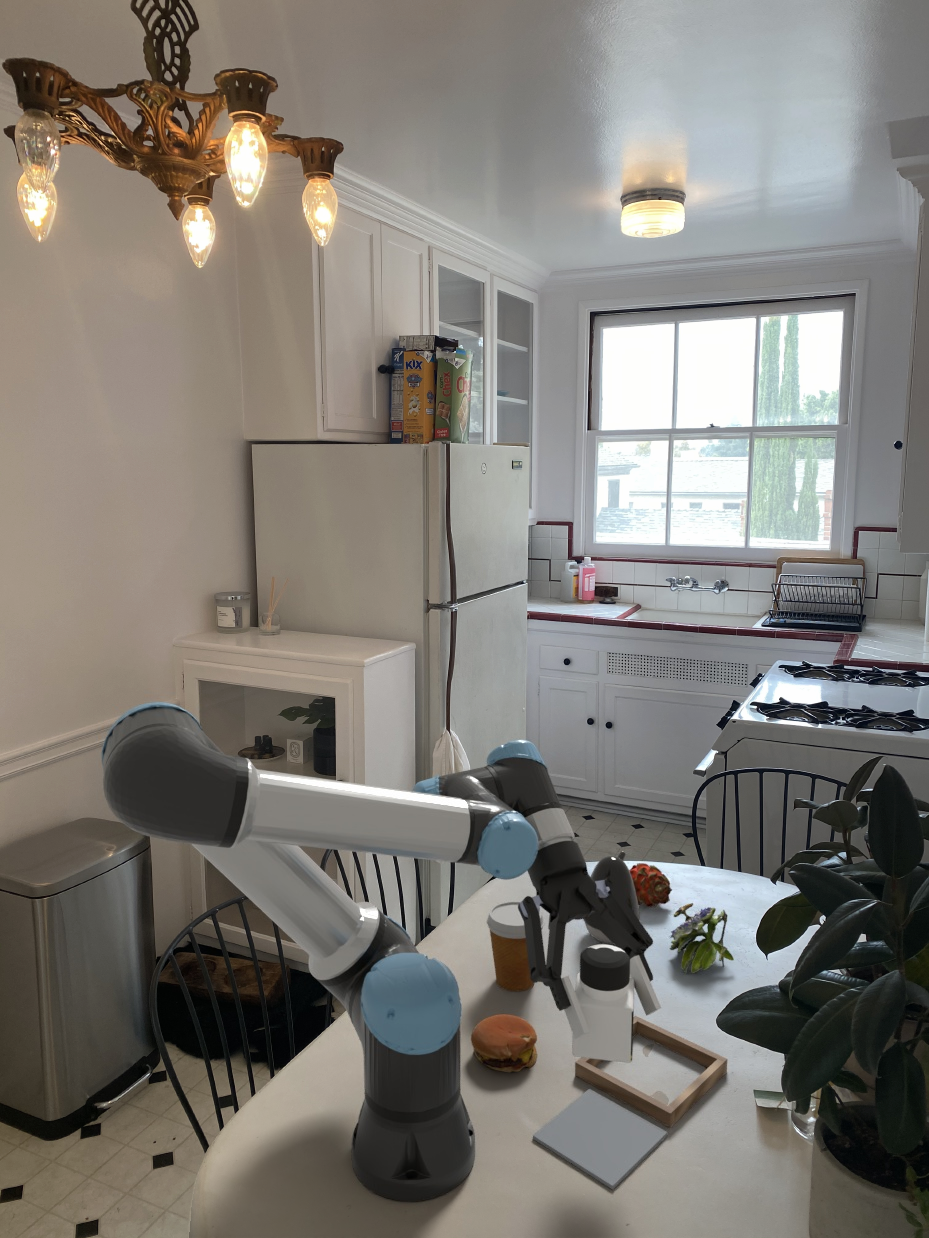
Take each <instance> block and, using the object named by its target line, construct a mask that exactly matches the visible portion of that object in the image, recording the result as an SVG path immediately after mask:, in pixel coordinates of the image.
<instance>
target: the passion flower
mask: <svg viewBox="0 0 929 1238" xmlns="http://www.w3.org/2000/svg"><path fill="white" fill-rule="evenodd" d="M693 906H694V903H693V902H691V903H688V904H685V905H683V906H680V907H679V908H678V909H677V910H676V911H675V912H674V913H673V918H677V917H679V916H680V915H683V916H685V919H684V920H685V921H684V922H683V923H681V924H679V926H677V927H676V928H675V929H673V930H672V931H670V932H671V935H669V936H668V938H669V939H671V938H672V939H673V940H671V941H670V943H671V945H670V947H669V950H670V951H674V950H677V952H678V953H680V952H681V951H684V952H683V954H682V958H681V959H682V960H681V963H680V964H681V969H682V970H683V972H684V973H686V974H687V973H688V968H689V966H690V965H691V966H690V967H691V968H690V972H691V973H692V974H694V973H697V972H698V971H700V970H703V971H705V970H708V969H709V968H711V966H713V964H714V963H715V961H716V959H717V954H719V958H718V961H719V962H722V963H721V964H722V967H724V966H725V965H724V964H725V963H724V962H725V960H724V959H726V960H729V961H734V956H733V954H732V953H731V952H730V951H729V950H728V947H727V946H724V936H725V930H726V925H727V922H728V914H727V913H726V911H725V909H723V910H722V911H721V912H720V913H719V914H717V915H716V914H715V912H716V910H717V909H716V908H715V907H709V906H708V907H704V909H703V908H701V909H700V911H699V912H696V913H695V914H694V916H690V915H688V914H687V910H689V909H690V908H692V907H693ZM714 914H715V915H714ZM722 921H723V927H722V932H721V936H720V939H719V940H718V942H715V941H714V935H715V932H716V930H717V928H716V927H717V925H718V924H719V923H721V922H722ZM706 925H707V931H705V929H704V927H705V926H706ZM698 937H703V938H702V939H701V940H696V939H697V938H698Z"/></svg>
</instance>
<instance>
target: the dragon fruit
mask: <svg viewBox="0 0 929 1238" xmlns="http://www.w3.org/2000/svg"><path fill="white" fill-rule="evenodd" d="M629 871H630V873H631V876H632V878H633V882H634V885H635V889H636V893H637V898H638V904H639V907H640V906H642V904H644V905H645V908H646V907H647V908H655V907H656V906H657V905H659V904H662V905H665V904H667V903H669V902H670V894H671V892H672V891H673V889H672V887H671V886H670V885H671V883H670V880H669V879H668V877H667V876H666V875H665V874H664V873H662V871H661V870H660V869H659V868H658V867H657V866H655V865H649V864H647V863H645V862H644V863H642V862H641V863H640V862H639V863H636V864H634V865H632V867H631V868H630V869H629Z"/></svg>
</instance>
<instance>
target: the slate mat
mask: <svg viewBox="0 0 929 1238" xmlns="http://www.w3.org/2000/svg"><path fill="white" fill-rule="evenodd" d="M667 1136H668V1131H666V1130H664V1129H662V1128H661V1127H659V1126H657V1125H656V1124H653V1123H652V1122H650V1121H648V1120H646V1119H645V1118H642V1117H641V1116H639V1115H637V1114H635V1113H634V1112H632V1111H630V1110H629V1109H627V1108H625V1107H623V1106H621V1105H619V1104H618V1103H616V1102H615V1101H612V1100H611V1099H609V1098H607V1097H605V1096H603V1095H601V1094H599V1093H598V1092H596V1091H594V1090H593V1089H591V1088H588V1089H587V1090H586V1091H585V1092H584V1093H582V1094H581V1095H580V1096H578V1097H577V1098H576V1099H575V1100H574V1101H573V1102H571V1103H570V1104H569V1105H568V1106H567V1107H565V1108H564V1109H563V1110H561V1111H560V1112H559V1113H558V1114H557V1115H556V1116H555V1117H553V1118H552V1119H550V1121H548V1122H547V1123H546V1124H544V1125H543V1126H542V1127H541V1128H540V1129H539V1130H537V1131H536V1132H535V1133H534V1134H532V1139H533V1140H534V1141H536V1143H539V1144H540V1145H542V1146H544V1147H545V1148H547V1149H548V1150H550V1151H551V1152H552V1153H555V1154H556V1155H557V1156H559V1157H561V1158H562V1159H564V1160H565V1161H567V1162H568V1163H570V1164H571V1163H572V1165H573V1166H574V1167H576V1168H577V1169H579V1170H581V1171H583V1172H584V1173H586V1174H587V1175H589V1176H590V1177H592V1178H593V1179H595V1180H597V1181H598V1182H600V1183H601V1184H603V1185H605V1186H606V1187H607V1188H609V1189H611V1190H614V1189H615V1188H616V1187H617V1186H619V1185H620V1183H621V1182H623V1180H624V1179H625V1178H626V1177H627V1176H628V1175H629V1174H630V1173H631V1172H633V1171H634V1170H635V1168H636V1167H637V1166H639V1165H640V1163H642V1161H644V1160H645V1158H646V1157H648V1155H650V1154H651V1153H652V1151H654V1150H655V1148H657V1147H658V1145H660V1143H662V1142H663V1141H664V1140H665V1139H666V1138H667Z"/></svg>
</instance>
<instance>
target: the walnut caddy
mask: <svg viewBox="0 0 929 1238" xmlns="http://www.w3.org/2000/svg"><path fill="white" fill-rule="evenodd" d="M636 1035H638V1036H641V1037H643V1038H645V1039H648V1040H650V1041H652V1042H654V1043H655V1044H657V1045H660V1046H662V1047H664V1048H666V1049H668V1050H670V1051H672V1052H674V1053H675V1054H676V1053H677V1054H679V1055H680V1056H683V1057H684V1058H686V1059H689V1060H691V1061H693V1062H695V1063H697V1064H699V1065H701V1066H703V1067H706V1069H705V1070H704V1071H703V1072H702V1073H701V1074H700V1075H699V1076H698V1077H697V1078H696V1079H695V1080H693V1081H692V1082H691V1083H690V1084H689V1085H688V1086H687V1087H686V1088H685V1089H684V1090H683V1091H682V1092H681V1093H680V1094H679V1095H677V1096H676V1097H675V1098H674V1100H672V1101H671V1102H670V1103H669V1104H668V1105H667V1104H665V1103H663V1102H662V1101H659V1100H657V1099H656V1098H654V1097H653V1096H651V1095H648V1094H646V1093H645V1092H642V1091H641V1090H639V1089H636V1088H635V1087H634V1086H631V1085H630V1084H628V1083H626V1082H624V1081H622V1080H620V1079H618V1078H617V1077H615V1076H613V1075H610V1074H608V1073H607V1072H605V1071H604V1070H601V1069H599V1068H598V1066H599V1065H600V1064H601V1063H602V1062H604V1060H600V1059H592V1058H583V1057H579V1059H577V1060H576V1061H575V1062H574V1067H575V1068H574V1076H576V1077H577V1078H580V1079H581V1080H583V1081H585V1082H586V1083H588V1084H590V1085H592V1086H594V1087H596V1088H597V1089H599V1090H601V1091H602V1092H605V1093H606V1094H607V1095H610V1096H612V1097H614V1098H616V1099H617V1100H619V1101H620V1102H622V1103H625V1104H627V1105H629V1106H630V1107H632V1108H634V1109H635V1110H638V1111H639V1112H640V1113H643V1114H645V1115H647V1116H648V1117H650V1118H652V1120H653V1119H654V1120H655V1121H658V1122H659V1123H661V1124H663V1125H664V1126H667V1127H668V1128H672V1126H673V1125H675V1123H677V1121H678V1120H680V1119H681V1118H682V1117H683V1116H684V1115H685V1114H686V1113H687V1112H688V1111H689V1110H690V1109H691V1108H692V1107H693V1106H694V1105H695V1104H696V1103H697V1102H698V1101H699V1100H700V1099H701V1098H702V1097H703V1096H704V1095H705V1094H706V1093H707V1092H708V1091H710V1089H712V1088H713V1086H715V1084H716V1083H717V1082H718V1081H719V1080H720V1079H721V1078H723V1077H724V1076H725V1074H727V1072H728V1058H726V1057H725V1056H723V1055H720V1054H718V1053H715V1052H714V1051H711V1050H709V1049H707V1048H705V1047H703V1046H701V1045H698V1044H697V1043H694V1042H692V1041H691V1040H688V1039H686V1038H684V1037H682V1036H680V1035H677V1034H676V1033H673V1032H671V1031H669V1030H667V1029H664V1028H662V1027H660V1026H658V1025H656V1024H654V1023H652V1022H649V1021H647V1020H645V1019H643V1018H641V1017H640V1016H637V1015H634V1020H633V1037H635V1036H636Z"/></svg>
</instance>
